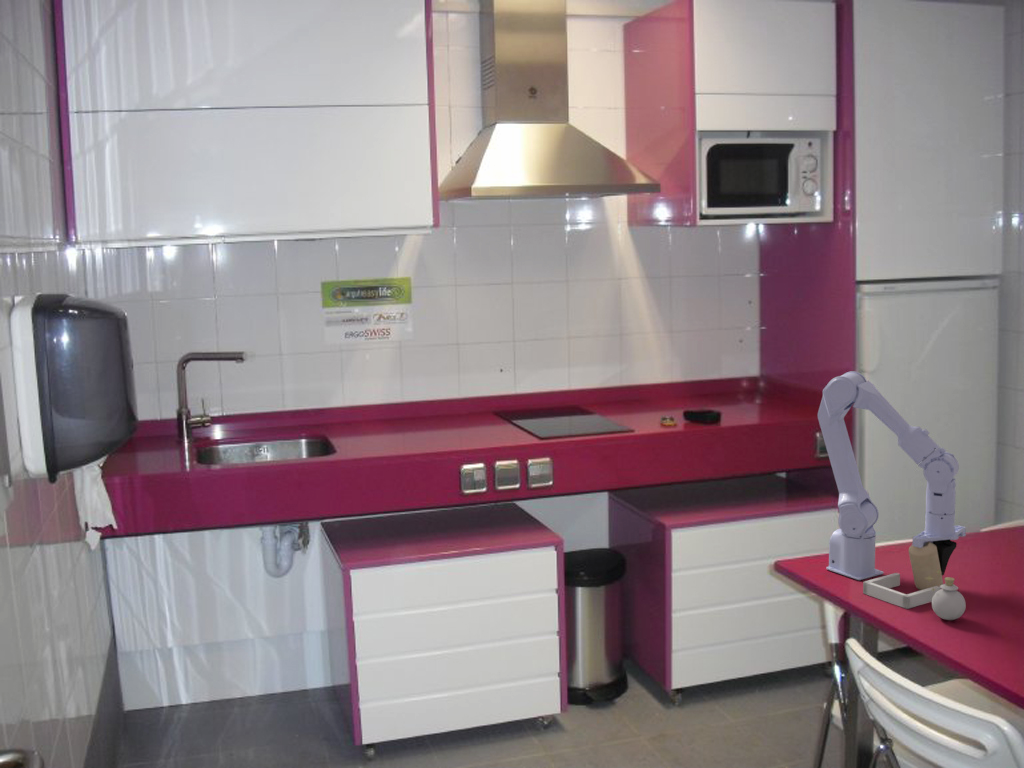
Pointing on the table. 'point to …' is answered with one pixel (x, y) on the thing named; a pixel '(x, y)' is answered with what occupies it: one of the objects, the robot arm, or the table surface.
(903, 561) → the table surface
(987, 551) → the table surface
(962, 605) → the round potion bottle
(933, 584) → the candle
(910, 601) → the box
